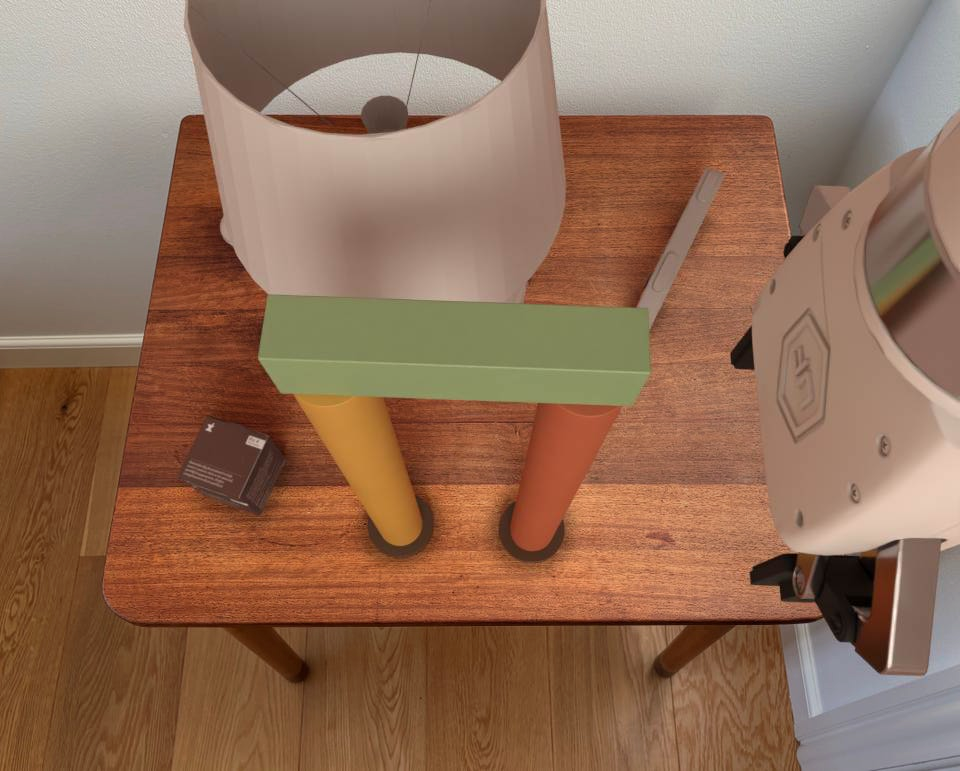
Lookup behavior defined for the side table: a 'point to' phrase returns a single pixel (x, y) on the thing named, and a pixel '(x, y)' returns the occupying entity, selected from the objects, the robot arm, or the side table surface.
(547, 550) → the terracotta rod
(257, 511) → the box
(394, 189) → the table lamp
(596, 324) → the green bar
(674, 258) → the grey flat slab
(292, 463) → the side table surface
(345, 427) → the ochre rod
